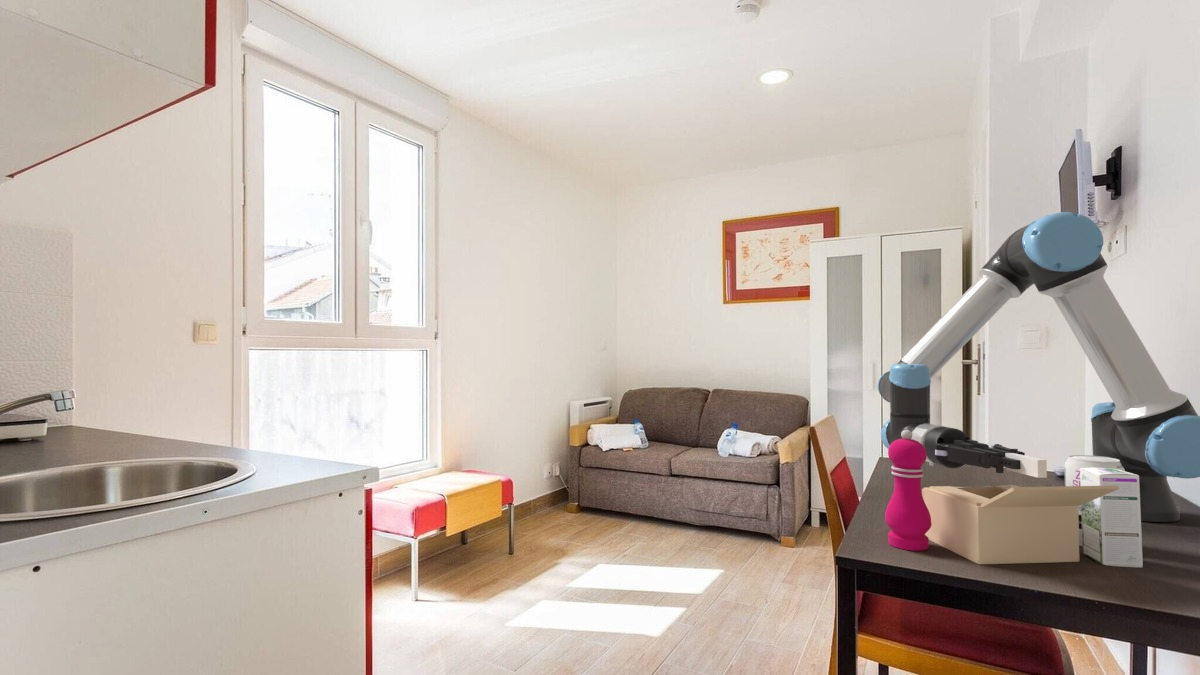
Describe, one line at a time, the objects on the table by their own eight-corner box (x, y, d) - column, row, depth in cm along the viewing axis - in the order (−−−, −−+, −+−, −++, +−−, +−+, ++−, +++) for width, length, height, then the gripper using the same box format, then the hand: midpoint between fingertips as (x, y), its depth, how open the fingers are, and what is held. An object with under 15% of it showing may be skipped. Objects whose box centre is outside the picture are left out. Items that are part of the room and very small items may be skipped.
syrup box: (1144, 568, 93) (1142, 474, 94) (1101, 565, 94) (1099, 472, 95) (1121, 556, 99) (1118, 467, 99) (1080, 553, 100) (1078, 466, 100)
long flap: (1078, 502, 96) (1117, 485, 89) (1080, 505, 96) (1119, 488, 89) (980, 504, 95) (1012, 487, 88) (981, 507, 95) (1014, 490, 88)
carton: (1009, 534, 111) (1008, 482, 111) (1079, 561, 96) (1078, 502, 96) (921, 536, 110) (920, 484, 110) (978, 564, 95) (977, 504, 95)
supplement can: (1112, 540, 108) (1110, 455, 108) (1136, 554, 100) (1134, 463, 100) (1058, 535, 110) (1056, 453, 111) (1077, 549, 102) (1075, 460, 103)
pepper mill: (878, 538, 108) (876, 427, 109) (918, 539, 108) (917, 427, 108) (896, 551, 101) (895, 432, 101) (940, 552, 101) (938, 432, 101)
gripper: (972, 464, 117) (1081, 492, 93) (909, 465, 115) (1003, 494, 92) (972, 425, 117) (1080, 443, 93) (908, 426, 116) (1002, 444, 92)
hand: (1042, 468), depth 93 cm, fingers closed
